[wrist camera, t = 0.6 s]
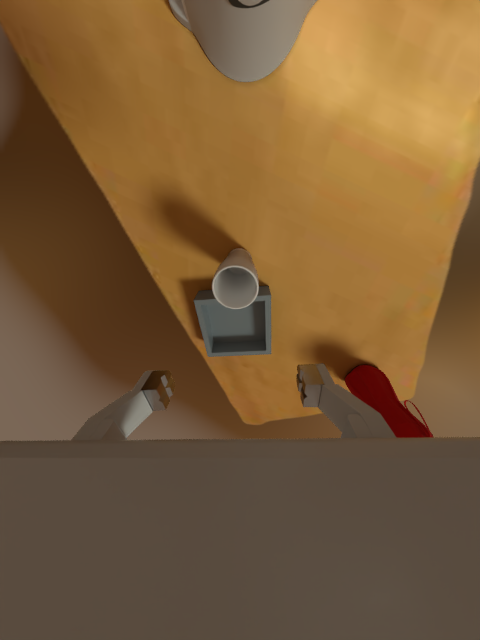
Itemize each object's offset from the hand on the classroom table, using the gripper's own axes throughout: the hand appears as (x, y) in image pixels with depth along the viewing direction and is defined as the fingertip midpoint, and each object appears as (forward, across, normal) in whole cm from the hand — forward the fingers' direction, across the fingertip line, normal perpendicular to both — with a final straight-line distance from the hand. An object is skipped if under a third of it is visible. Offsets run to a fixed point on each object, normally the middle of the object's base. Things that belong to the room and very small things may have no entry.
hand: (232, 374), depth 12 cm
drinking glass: (+31, +1, -1) cm, 31 cm away
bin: (+32, +3, +13) cm, 34 cm away
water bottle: (+33, -33, +35) cm, 58 cm away
